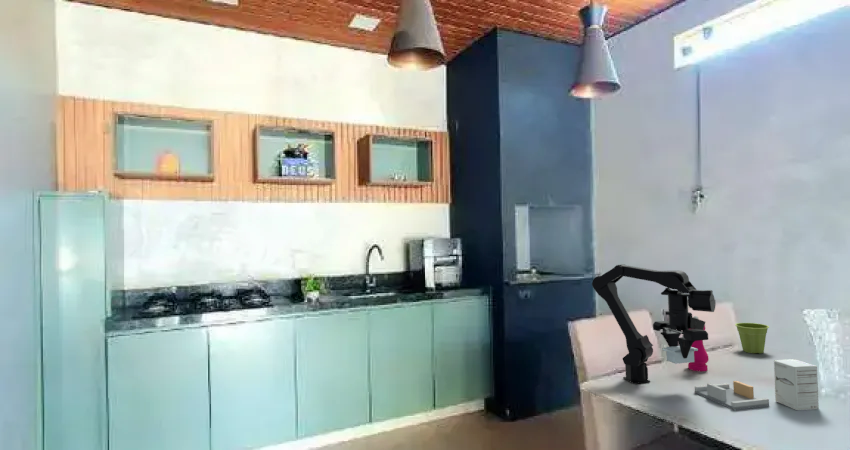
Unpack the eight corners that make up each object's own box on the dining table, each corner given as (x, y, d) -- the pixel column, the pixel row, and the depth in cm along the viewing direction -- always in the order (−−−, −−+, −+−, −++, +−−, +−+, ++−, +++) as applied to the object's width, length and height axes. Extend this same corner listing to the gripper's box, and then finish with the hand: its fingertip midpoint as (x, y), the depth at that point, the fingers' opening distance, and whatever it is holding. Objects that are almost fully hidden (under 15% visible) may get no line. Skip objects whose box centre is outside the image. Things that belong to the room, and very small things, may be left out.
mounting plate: (734, 410, 132) (733, 395, 132) (694, 392, 147) (694, 379, 147) (769, 406, 135) (768, 391, 135) (726, 389, 149) (726, 376, 149)
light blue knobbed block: (671, 364, 148) (670, 348, 148) (662, 360, 151) (662, 346, 152) (698, 361, 149) (697, 346, 149) (689, 358, 153) (688, 343, 153)
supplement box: (774, 401, 138) (772, 359, 138) (797, 400, 138) (795, 358, 139) (796, 411, 130) (794, 366, 131) (820, 409, 131) (818, 365, 131)
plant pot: (736, 347, 202) (735, 321, 202) (769, 350, 195) (768, 324, 196) (735, 353, 192) (734, 326, 193) (771, 356, 186) (769, 329, 186)
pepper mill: (712, 372, 168) (710, 317, 168) (690, 371, 169) (688, 317, 170) (704, 366, 175) (702, 314, 175) (683, 366, 176) (681, 314, 177)
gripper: (722, 312, 143) (724, 362, 143) (679, 303, 161) (681, 348, 161) (691, 314, 141) (693, 364, 141) (651, 305, 159) (652, 350, 159)
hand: (680, 356), depth 150 cm, fingers closed on light blue knobbed block, 4 cm apart
